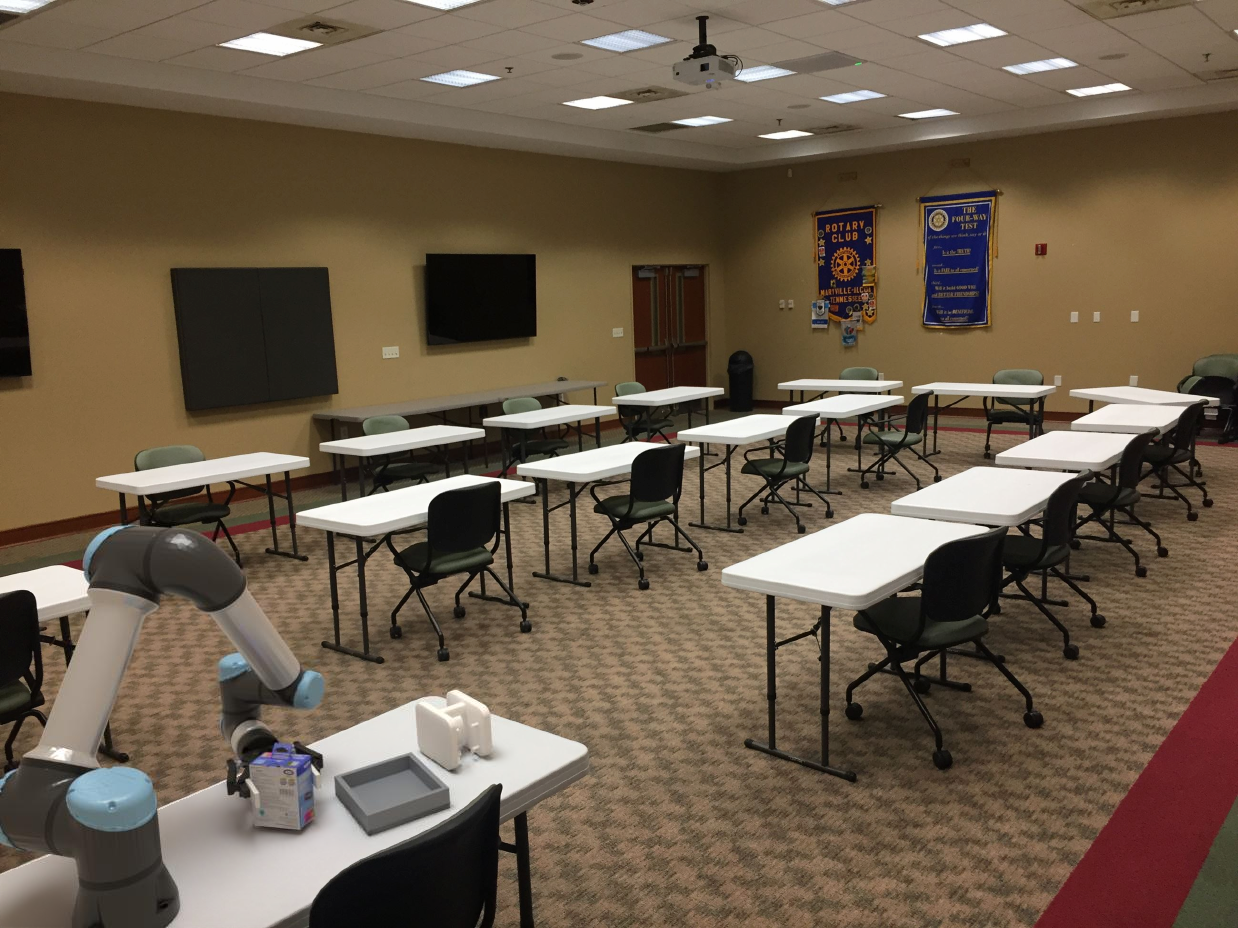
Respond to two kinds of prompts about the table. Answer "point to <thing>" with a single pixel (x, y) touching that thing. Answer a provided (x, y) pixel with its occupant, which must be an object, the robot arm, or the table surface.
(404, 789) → the tray
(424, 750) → the cable organizer
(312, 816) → the ink cartridge box
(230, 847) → the table surface
